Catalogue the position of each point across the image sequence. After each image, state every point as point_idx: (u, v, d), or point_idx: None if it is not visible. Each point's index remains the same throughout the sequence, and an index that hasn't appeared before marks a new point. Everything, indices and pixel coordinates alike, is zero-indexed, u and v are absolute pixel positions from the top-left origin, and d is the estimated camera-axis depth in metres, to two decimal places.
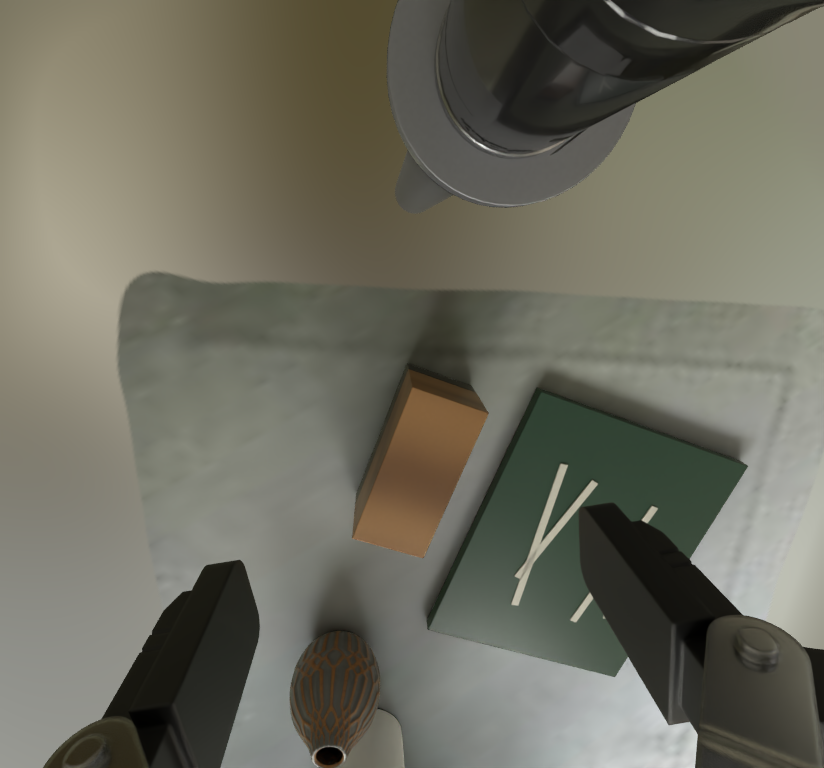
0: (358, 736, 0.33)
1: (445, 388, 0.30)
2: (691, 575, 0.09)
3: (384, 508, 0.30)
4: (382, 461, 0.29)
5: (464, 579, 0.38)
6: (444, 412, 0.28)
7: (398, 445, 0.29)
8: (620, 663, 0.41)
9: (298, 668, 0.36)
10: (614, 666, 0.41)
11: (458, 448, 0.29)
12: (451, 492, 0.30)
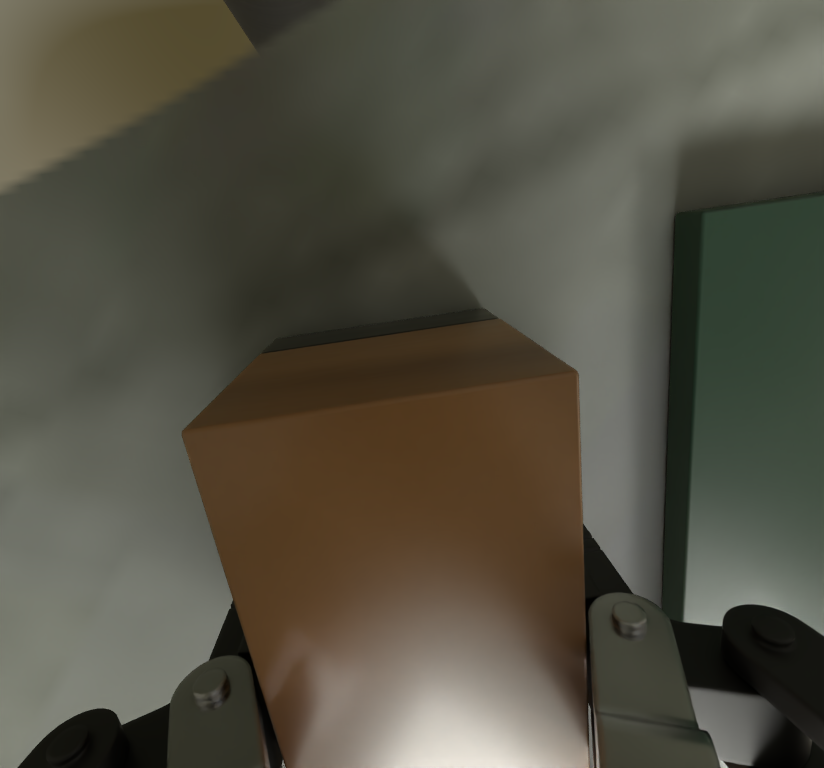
0: None
1: (377, 357, 0.08)
2: (596, 559, 0.09)
3: None
4: None
5: None
6: (384, 464, 0.06)
7: (289, 662, 0.07)
8: None
9: None
10: None
11: (525, 568, 0.07)
12: (582, 711, 0.08)
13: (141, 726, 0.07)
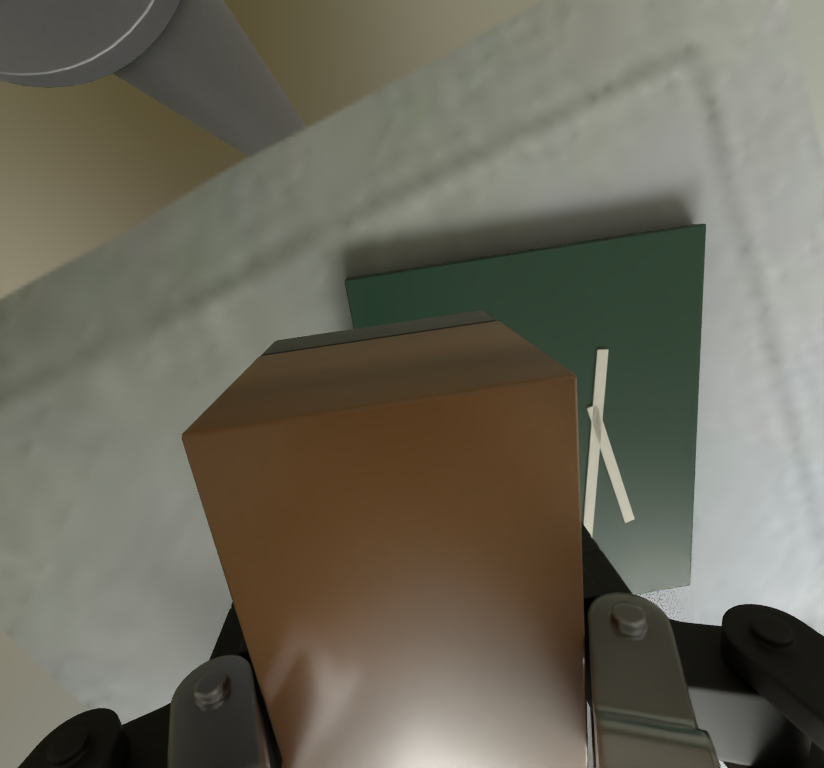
0: None
1: (376, 360, 0.08)
2: (596, 559, 0.10)
3: None
4: None
5: None
6: (384, 467, 0.06)
7: (289, 664, 0.07)
8: (686, 565, 0.29)
9: None
10: (680, 572, 0.30)
11: (523, 570, 0.07)
12: (581, 712, 0.08)
13: (142, 726, 0.07)
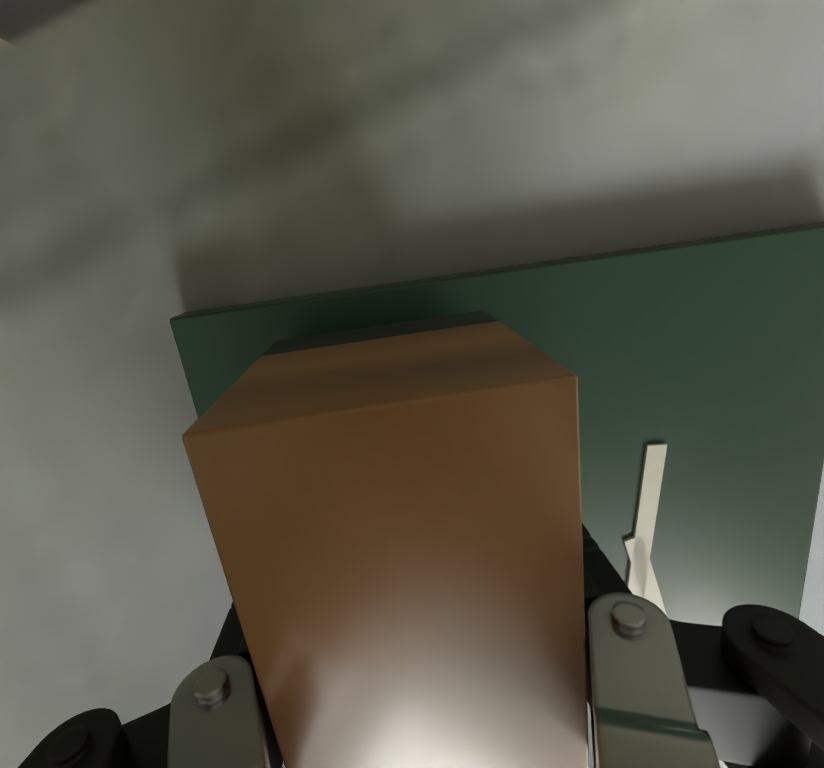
0: None
1: (376, 360, 0.08)
2: (596, 559, 0.10)
3: None
4: None
5: None
6: (384, 468, 0.06)
7: (290, 665, 0.07)
8: None
9: None
10: None
11: (524, 570, 0.07)
12: (582, 712, 0.08)
13: (142, 726, 0.07)
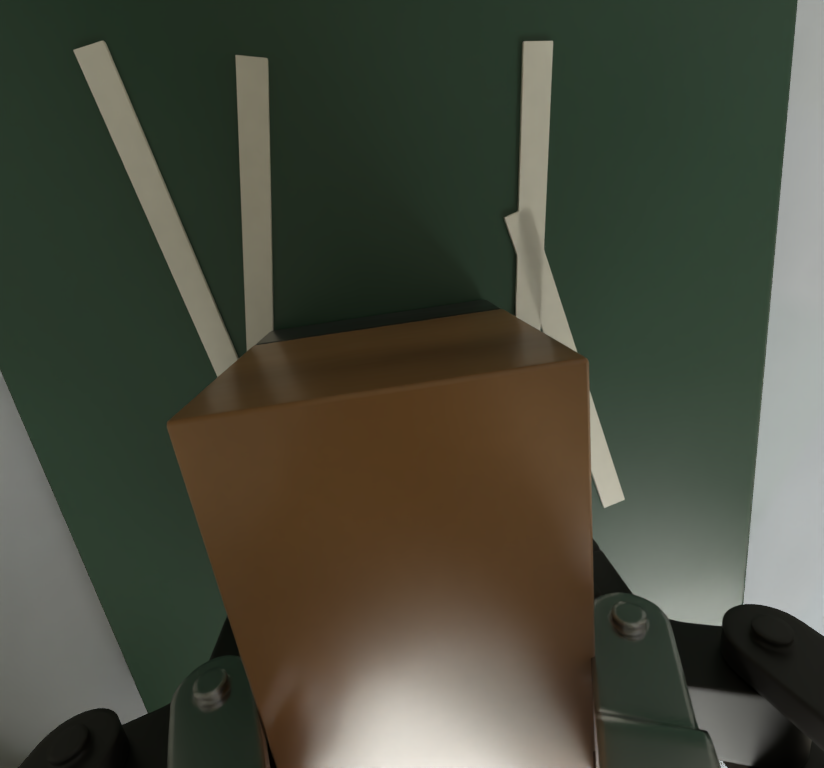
0: None
1: (375, 347, 0.08)
2: (596, 559, 0.10)
3: None
4: None
5: (130, 582, 0.12)
6: (383, 458, 0.06)
7: (283, 667, 0.07)
8: (734, 600, 0.14)
9: None
10: (721, 614, 0.14)
11: (530, 567, 0.06)
12: (590, 717, 0.07)
13: (142, 725, 0.07)
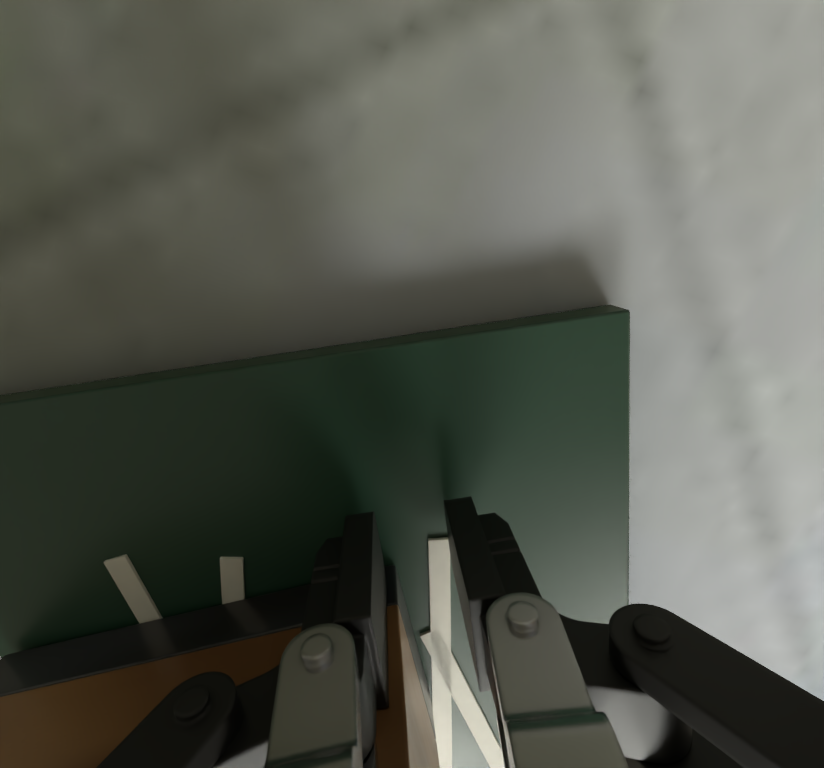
0: None
1: (425, 746, 0.11)
2: (514, 560, 0.10)
3: None
4: None
5: None
6: None
7: None
8: None
9: None
10: None
11: None
12: None
13: (248, 690, 0.08)
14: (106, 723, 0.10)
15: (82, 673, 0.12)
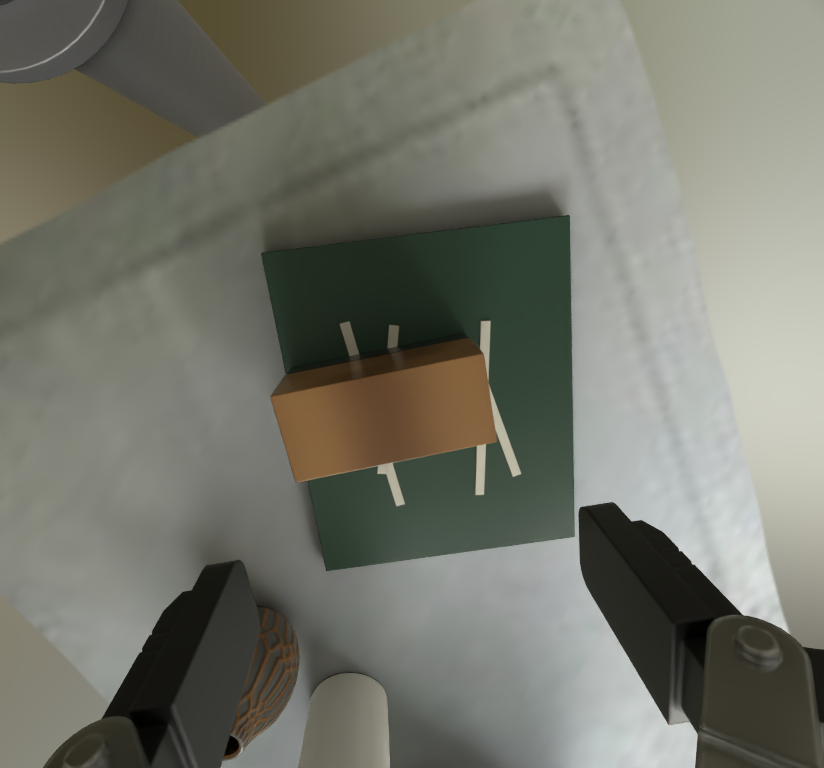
0: (259, 712, 0.29)
1: None
2: (691, 575, 0.09)
3: (329, 407, 0.24)
4: (382, 373, 0.24)
5: (326, 501, 0.32)
6: (474, 400, 0.24)
7: (411, 378, 0.24)
8: (570, 518, 0.33)
9: None
10: (565, 525, 0.34)
11: (443, 437, 0.25)
12: (391, 461, 0.25)
13: None
14: (359, 365, 0.26)
15: (336, 363, 0.28)
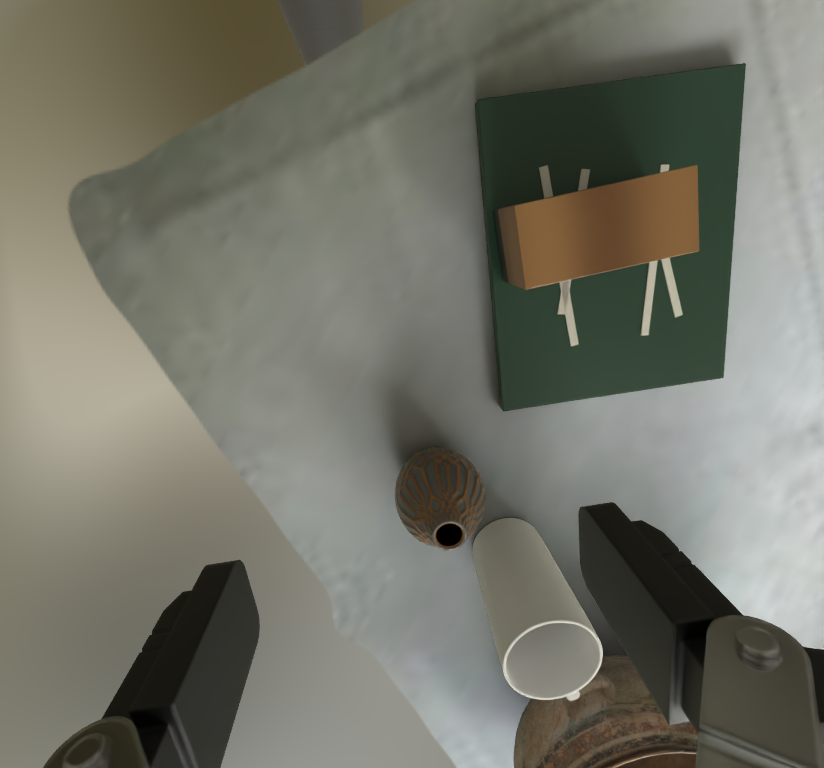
0: (472, 513, 0.33)
1: None
2: (691, 575, 0.09)
3: (562, 216, 0.28)
4: (609, 184, 0.28)
5: (510, 341, 0.36)
6: (684, 210, 0.28)
7: (634, 188, 0.28)
8: (721, 359, 0.37)
9: (395, 490, 0.36)
10: (716, 366, 0.37)
11: (654, 246, 0.29)
12: (608, 269, 0.29)
13: None
14: None
15: None
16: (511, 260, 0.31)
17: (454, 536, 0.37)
